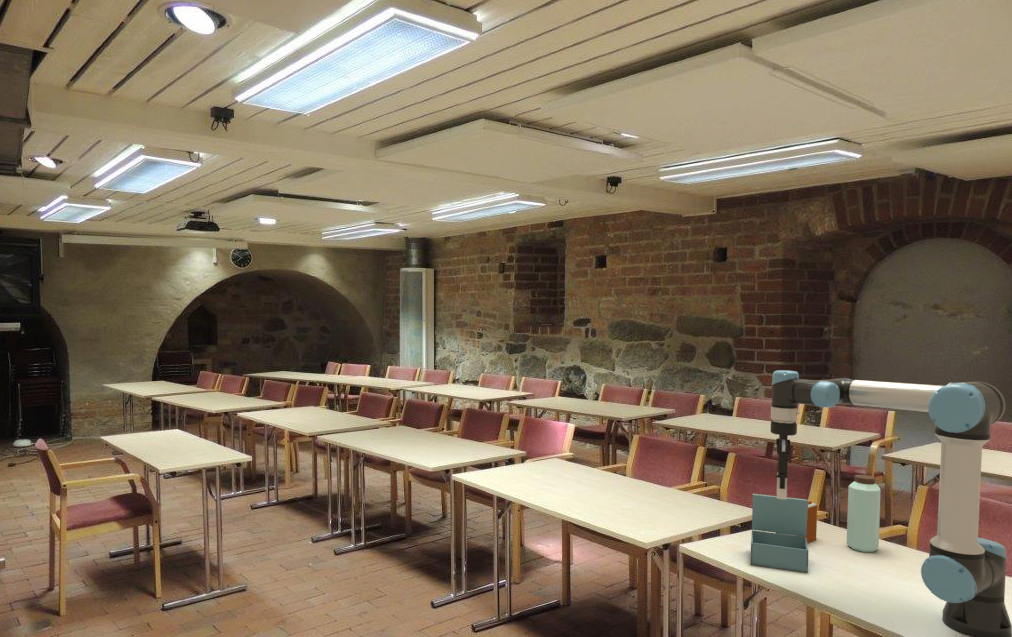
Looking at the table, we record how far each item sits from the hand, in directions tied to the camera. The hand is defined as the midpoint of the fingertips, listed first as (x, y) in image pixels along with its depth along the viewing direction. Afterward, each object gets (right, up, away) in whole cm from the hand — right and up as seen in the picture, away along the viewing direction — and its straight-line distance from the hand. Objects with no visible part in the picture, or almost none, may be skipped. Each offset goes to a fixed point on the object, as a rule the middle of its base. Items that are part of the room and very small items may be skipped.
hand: (781, 496), depth 215 cm
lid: (+6, -11, +18) cm, 22 cm away
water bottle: (+39, -25, +28) cm, 55 cm away
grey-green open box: (+4, -25, +14) cm, 28 cm away
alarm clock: (+19, -25, +35) cm, 47 cm away
